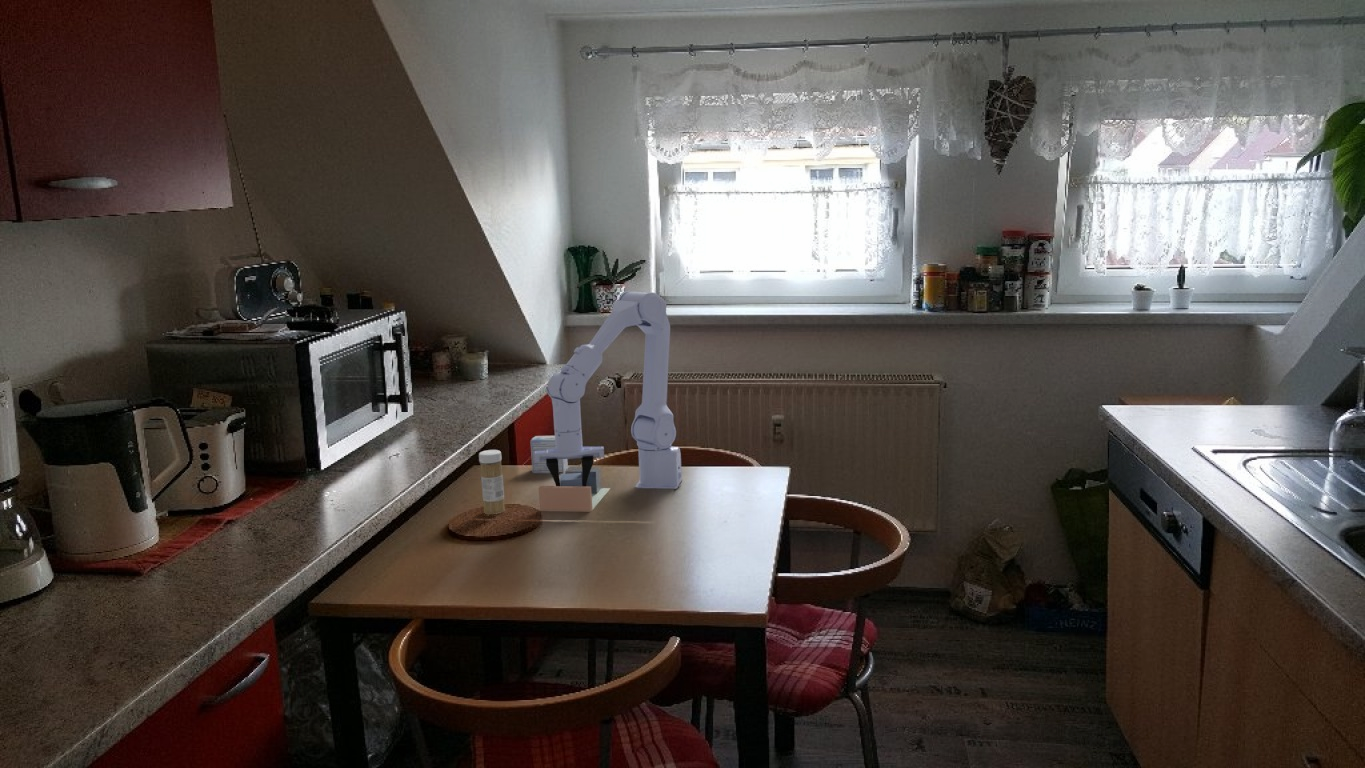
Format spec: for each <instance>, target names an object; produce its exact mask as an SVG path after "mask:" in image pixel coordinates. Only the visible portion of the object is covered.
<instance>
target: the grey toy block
mask: <svg viewBox="0 0 1365 768" xmlns="http://www.w3.org/2000/svg"><path fill="white" fill-rule="evenodd" d="M572 473H581V476H582V466H568V469H567V470H566V471H565V473H564V474H572ZM601 475H602V474H601V466H592V468H591V470H590V473H589V476H588V480H587V484H586V487H591V492H592V494H597V493H598V492H599V491H600V490H601V488H602V476H601Z"/></svg>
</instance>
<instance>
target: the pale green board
mask: <svg viewBox="0 0 1365 768" xmlns="http://www.w3.org/2000/svg"><path fill="white" fill-rule="evenodd" d="M610 490H611V488H610V487H601V490H600V491H599V492H598V493H597V494H592V492H591V487H586V486H561V485H560V486H556V485H540V486H538V496H539V497H538V498H539V499H538V501H539V511H540V512H582V513H584V512H588V513H589V512H592V511H593V510H594V509H595V508H596V507H597V505H598V504H599V503H600V501H601V500H602V499H603V498H604V497H605V496H606V494H607V493H608V492H609V491H610Z"/></svg>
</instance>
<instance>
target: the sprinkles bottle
mask: <svg viewBox="0 0 1365 768" xmlns="http://www.w3.org/2000/svg"><path fill="white" fill-rule="evenodd" d="M478 462H479V464H480V475H481V476H480V479H481V491H482V494H481V495H482V500H483V502H482V503H483V514H484V513H485V514H497V513H501V512H503V511H505V512H506V509H505V491H504V489H505V488H504V476H503V469H502V452H501V451H500V449H499V450H498V449H488V450H483V451H480V452H479V453H478ZM485 514H484V515H485Z"/></svg>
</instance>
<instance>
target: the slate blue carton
mask: <svg viewBox="0 0 1365 768" xmlns="http://www.w3.org/2000/svg"><path fill="white" fill-rule="evenodd" d="M559 479H560V486H582V476H581V473H572V474H565V473H559Z"/></svg>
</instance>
